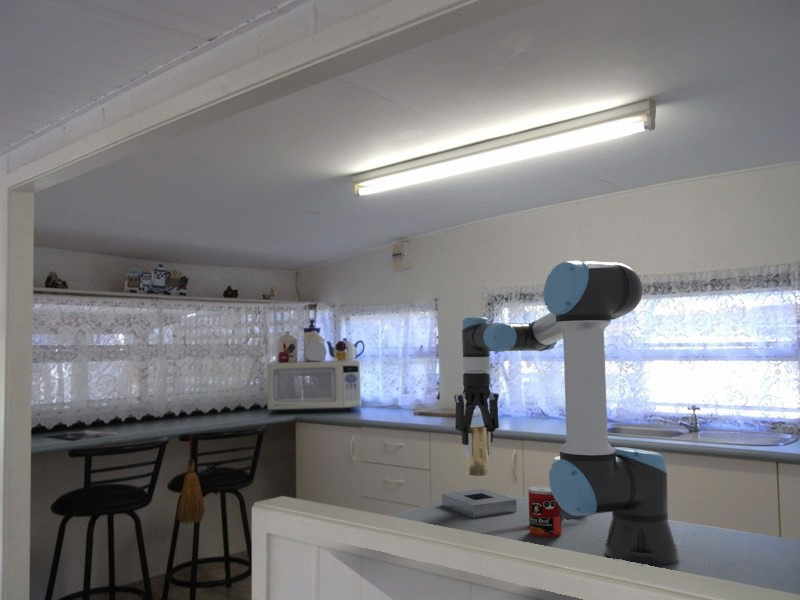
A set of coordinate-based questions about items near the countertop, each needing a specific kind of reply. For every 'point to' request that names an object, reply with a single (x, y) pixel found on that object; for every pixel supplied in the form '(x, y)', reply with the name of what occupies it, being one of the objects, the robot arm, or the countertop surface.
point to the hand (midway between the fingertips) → (477, 455)
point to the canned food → (544, 512)
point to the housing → (479, 503)
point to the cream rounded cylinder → (478, 451)
